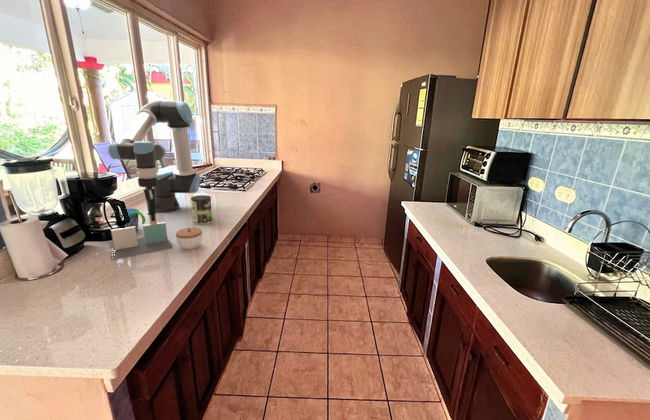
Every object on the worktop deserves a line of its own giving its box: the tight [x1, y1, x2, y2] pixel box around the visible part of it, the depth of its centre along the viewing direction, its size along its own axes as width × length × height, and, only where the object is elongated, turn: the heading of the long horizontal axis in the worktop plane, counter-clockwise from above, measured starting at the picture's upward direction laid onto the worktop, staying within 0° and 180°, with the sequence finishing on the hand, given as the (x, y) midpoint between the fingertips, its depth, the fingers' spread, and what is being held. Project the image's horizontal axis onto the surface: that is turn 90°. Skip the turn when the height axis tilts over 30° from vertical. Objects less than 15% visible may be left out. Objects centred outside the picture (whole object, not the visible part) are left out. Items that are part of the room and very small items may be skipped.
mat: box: [108, 236, 174, 261], centre depth 137 cm, size 20×23×1 cm
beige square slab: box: [142, 221, 169, 245], centre depth 140 cm, size 2×9×9 cm, turn 126°
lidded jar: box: [175, 227, 203, 250], centre depth 137 cm, size 11×11×9 cm
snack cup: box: [110, 207, 146, 231], centre depth 154 cm, size 16×10×10 cm
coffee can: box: [190, 194, 213, 225], centre depth 170 cm, size 10×10×14 cm
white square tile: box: [110, 226, 138, 250], centre depth 133 cm, size 2×9×9 cm, turn 126°
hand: (153, 226), depth 141 cm, fingers closed
